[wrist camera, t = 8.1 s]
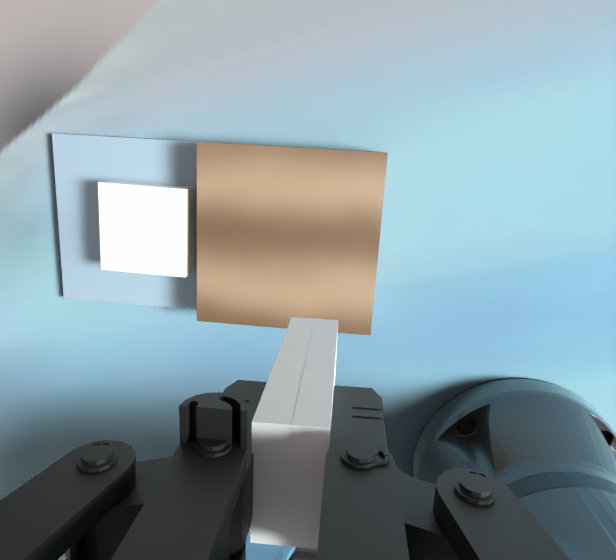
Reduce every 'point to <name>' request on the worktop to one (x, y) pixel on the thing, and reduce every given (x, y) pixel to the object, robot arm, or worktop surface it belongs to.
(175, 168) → the mat
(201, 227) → the board
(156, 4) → the worktop surface
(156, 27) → the worktop surface
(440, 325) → the worktop surface
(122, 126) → the worktop surface
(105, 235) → the tile
